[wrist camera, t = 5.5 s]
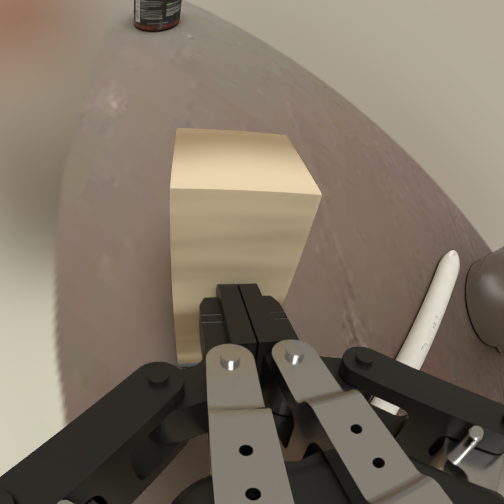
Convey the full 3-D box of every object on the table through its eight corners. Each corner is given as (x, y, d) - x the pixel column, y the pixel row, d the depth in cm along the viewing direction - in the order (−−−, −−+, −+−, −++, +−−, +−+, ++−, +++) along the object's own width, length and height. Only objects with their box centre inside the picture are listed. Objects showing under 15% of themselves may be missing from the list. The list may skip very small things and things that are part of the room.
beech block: (259, 362, 17) (322, 194, 9) (177, 366, 16) (170, 188, 8) (247, 299, 20) (286, 135, 13) (176, 300, 19) (176, 128, 12)
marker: (440, 247, 26) (456, 237, 24) (453, 261, 26) (470, 252, 24) (351, 422, 18) (369, 426, 16) (370, 436, 18) (389, 440, 16)
